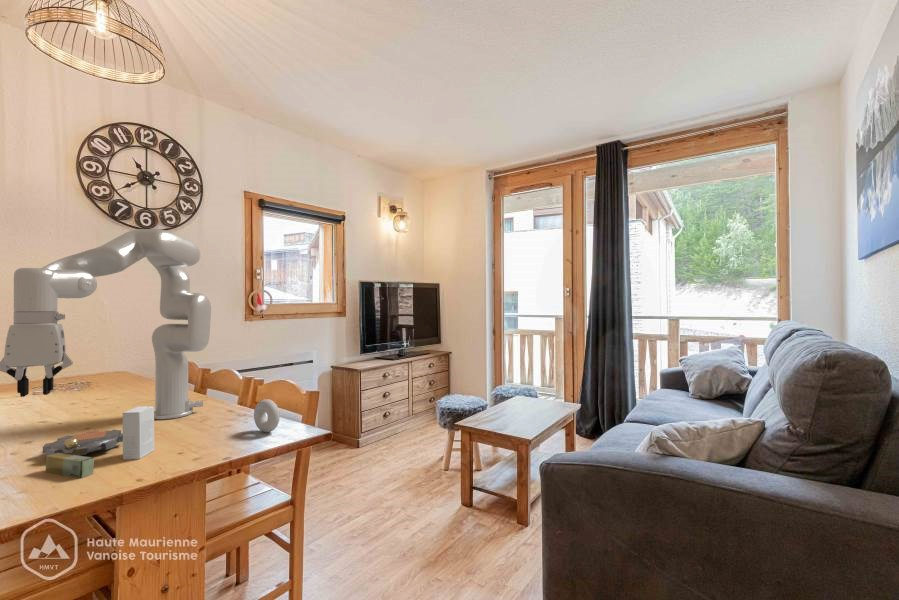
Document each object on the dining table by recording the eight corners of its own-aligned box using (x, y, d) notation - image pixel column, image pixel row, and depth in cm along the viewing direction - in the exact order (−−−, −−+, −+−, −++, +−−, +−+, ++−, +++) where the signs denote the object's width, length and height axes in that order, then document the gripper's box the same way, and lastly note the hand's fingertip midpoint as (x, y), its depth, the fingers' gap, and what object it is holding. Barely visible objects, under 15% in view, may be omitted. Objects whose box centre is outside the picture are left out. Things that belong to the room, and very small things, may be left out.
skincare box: (137, 451, 109) (137, 406, 109) (154, 450, 110) (154, 405, 110) (121, 460, 103) (121, 412, 103) (139, 459, 104) (139, 412, 104)
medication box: (94, 474, 95) (95, 457, 95) (81, 479, 93) (82, 461, 93) (58, 468, 99) (58, 451, 99) (44, 473, 96) (44, 455, 96)
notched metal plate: (129, 431, 121) (129, 419, 121) (121, 449, 107) (121, 435, 107) (53, 441, 112) (53, 428, 112) (34, 462, 98) (34, 447, 98)
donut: (282, 433, 125) (282, 400, 125) (272, 436, 122) (272, 402, 122) (261, 427, 130) (261, 396, 130) (251, 430, 127) (251, 398, 127)
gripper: (84, 317, 108) (83, 388, 108) (-7, 319, 99) (-7, 395, 99) (77, 319, 101) (77, 393, 101) (-20, 320, 92) (-21, 402, 92)
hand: (35, 394), depth 100 cm, fingers open, 3 cm apart
